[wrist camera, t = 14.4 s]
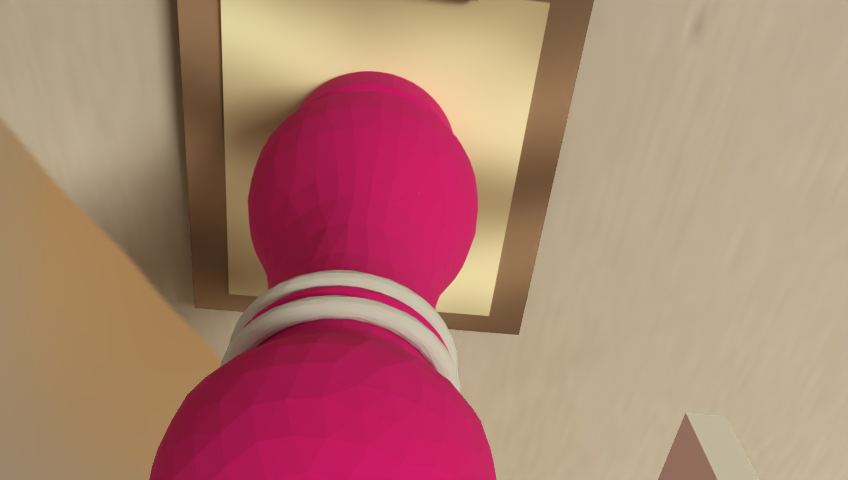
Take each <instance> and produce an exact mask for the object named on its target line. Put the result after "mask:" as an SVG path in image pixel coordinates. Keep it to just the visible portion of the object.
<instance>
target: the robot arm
mask: <svg viewBox="0 0 848 480" xmlns="http://www.w3.org/2000/svg"><path fill="white" fill-rule="evenodd" d="M658 480H760V479H759V478H758V476H757V474H756V472H755V470H754V468H753V466H752V465H751V463H750V461H749V459H748V457H747V455H746V453H745V452H744V450H743V448H742V446H741V444H740V442H739V440H738V439H737V437H736V435H735V433H734V431H733V429H732V427H731V426H730V424H729V422H728V420H727V418H726V416H724V415H710V414H697V413H685V416H684V418H683V421H682V423H681V425H680V428H679V430H678V433H677V435H676V438H675V440H674V443H673V445H672V447H671V450H670V452H669V455H668V457H667V460H666V462H665V464H664V467H663V469H662V472H661V474H660V477H659V479H658Z"/></svg>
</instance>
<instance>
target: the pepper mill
mask: <svg viewBox="0 0 848 480" xmlns="http://www.w3.org/2000/svg"><path fill="white" fill-rule="evenodd" d="M248 214H249V226H250V234H251V239H252V243H253V246H254V250H255V252H256V254H257V256H258V258H259V261H260V263H261V265H262V266H263V268H264V270H265V273H266V276H267V282H268V291H266V292H264V293H263V294H262V295H260V296H259V297H258V298H257V299H255V300H254V301H253V303H252V304H251V305H250V306H249V307H248V308H247V309H246V310H245V312H244V313H243V314H242V316H241V317H240V319H239V321H238V322H237V324H236V326H235V328H234V331H233V334H232V336H231V340H230V345H229V347H228V349H227V351H226V353H225V356H224V358H223V360H222V362H221V366H220V368H219V369H217V370H216V371H214V372H213V373H211V374H210V375H208V376H207V377H206V378H205V379H203V380H202V381H201V382H200V383H199V384H198V385H197V386H196V387H195V388H194V389H193V390H192V391H191V392H190V393H189V394H188V395H187V396H186V398H185V400H184V401H183V403H182V405H181V406H180V408H179V409H178V411H177V413H176V414H175V416H174V418H173V419H172V421H171V423H170V425H169V427H168V429H167V431H166V433H165V435H164V437H163V439H162V442H161V444H160V446H159V448H158V451H157V453H156V456H155V460H154V463H153V466H152V470H151V475H150V479H149V480H496V474H495V468H494V463H493V458H492V454H491V450H490V446H489V444H488V441H487V438H486V435H485V432H484V429H483V426H482V424H481V421H480V419H479V418H478V416H477V415H476V413H475V412H474V410H473V409H472V407H471V406H470V405H469V404H468V402H467V401H466V400H465V399H464V398H463V396H462V395H461V394H460V383H459V379H458V357H457V352H456V348H455V344H454V342H453V339H452V336H451V333H450V331H449V330H448V328H447V326H446V324H445V322H444V321H443V319H442V318H441V316H440V315H439V314H438V313H437V312H436V310H435V309H436V304H437V302H438V299H439V297H440V295H441V294H442V293H443V292H444V291H445V290H446V288H447V287H448V286H449V285H450V284H451V283H452V282H453V281H454V279H455V278H456V277H457V275H458V273H459V272H460V270H461V269H462V267H463V265H464V263H465V260H466V258H467V255H468V253H469V250H470V248H471V245H472V242H473V239H474V237H475V234H476V224H477V215H478V193H477V186H476V178H475V174H474V171H473V168H472V165H471V162H470V159H469V157H468V156H467V154H466V152H465V150H464V148H463V146H462V145H461V143H460V141H459V140H458V138H457V137H456V136H455V135H454V134H453V131H452V128H451V125H450V123H449V121H448V118H447V116H446V115H445V113H444V111H443V110H442V108H441V107H440V105H439V104H438V103H437V102H436V101H435V100H434V99H433V97H432V96H430V95H429V94H428V93H427V92H426V91H425V90H424V89H422V88H421V87H419V86H418V85H416V84H415V83H413V82H411V81H409V80H407V79H404V78H402V77H399V76H396V75H394V74H389V73H384V72H376V71H360V72H354V73H349V74H345V75H342V76H338V77H336V78H334V79H332V80H330V81H327V82H326V83H324V84H323V85H321V86H320V87H319V88H317V89H316V90H315V91H313V92H312V93H311V94H310V95H309V96H308V97H307V98H306V99H305V100H304V101H303V102H302V104H301V105H300V107H299V108H298V110H297V111H296V112H295V113H293V114H292V115H291V116H289V117H288V118H287V119H285V120H284V121H283V122H282V123H281V124H280V125H279V126H278V128H277V129H276V130H275V131H274V132H273V133H272V134H271V136H270V137H269V139H268V140H267V142H266V144H265V145H264V147H263V149H262V150H261V153H260V155H259V158H258V160H257V163H256V166H255V169H254V173H253V176H252V180H251V185H250V190H249V196H248Z"/></svg>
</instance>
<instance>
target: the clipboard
mask: <svg viewBox="0 0 848 480" xmlns="http://www.w3.org/2000/svg"><path fill="white" fill-rule="evenodd" d="M593 2H594V0H177V8H178V25H179V42H180V60H181V77H182V94H183V111H184V128H185V146H186V163H187V180H188V197H189V215H190V232H191V249H192V266H193V284H194V301H195V308H203V309H215V310H227V311H239V312H245V310H246V309H247V308H248V307H249V306H250V305H251V304H252V303H253V301H254V300H255V299H257V298H258V297H259V296H260V295H262V294H263V293H264V292H266V291H268V282H267V276H266V273H265V270H264V268H263V266H262V265H261V263H260V261H259V258H258V256H257V254H256V252H255V250H254V246H253V243H252V239H251V234H250V226H249V214H248V196H249V190H250V185H251V180H252V176H253V173H254V169H255V166H256V163H257V160H258V158H259V155H260V153H261V150H262V149H263V147H264V145H265V144H266V142H267V140H268V139H269V137H270V136H271V134H272V133H273V132H274V131H275V130H276V129H277V128H278V126H279V125H280V124H281V123H282V122H283V121H284V120H285V119H287V118H288V117H289V116H291V115H292V114H293V113H295V112H296V111H297V110H298V108H299V107H300V105H301V104H302V102H303V101H304V100H305V99H306V98H307V97H308V96H309V95H310V94H311V93H312V92H313V91H315V90H316V89H317V88H319V87H320V86H321V85H323V84H324V83H326V82H327V81H330V80H332V79H334V78H336V77H338V76H342V75H345V74H349V73H354V72H360V71H376V72H384V73H389V74H394V75H396V76H399V77H402V78H404V79H407V80H409V81H411V82H413V83H415V84H416V85H418V86H419V87H421V88H422V89H424V90H425V91H426V92H427V93H428V94H429V95H430V96H432V97H433V99H434V100H435V101H436V102H437V103H438V104H439V105H440V107H441V108H442V110H443V111H444V113H445V115H446V116H447V118H448V121H449V123H450V125H451V128H452V131H453V134H454V135H455V136H456V137H457V138H458V140H459V141H460V143H461V145H462V146H463V148H464V150H465V152H466V154H467V156H468V157H469V159H470V162H471V165H472V168H473V171H474V174H475V178H476V186H477V193H478V215H477V224H476V234H475V237H474V239H473V242H472V245H471V248H470V250H469V253H468V255H467V258H466V260H465V263H464V265H463V267H462V269H461V270H460V272H459V273H458V275H457V277H456V278H455V279H454V281H453V282H452V283H451V284H450V285H449V286H448V287H447V288H446V290H445V291H444V292H443V293H442V294H441V295H440V297H439V299H438V302H437V304H436V309H435V310H436V312H437V313H438V314H439V315H440V316H441V318H442V319H443V321H444V322H445V324H446V326H447V328H448V329H455V330H467V331H479V332H491V333H503V334H515V335H519V331H520V327H521V322H522V318H523V313H524V309H525V304H526V300H527V296H528V291H529V287H530V282H531V278H532V273H533V269H534V264H535V260H536V256H537V251H538V247H539V242H540V238H541V233H542V229H543V224H544V220H545V216H546V211H547V207H548V202H549V198H550V193H551V189H552V184H553V180H554V175H555V171H556V167H557V162H558V158H559V153H560V149H561V144H562V140H563V135H564V131H565V127H566V122H567V118H568V113H569V109H570V104H571V100H572V95H573V91H574V86H575V82H576V78H577V73H578V69H579V64H580V60H581V55H582V51H583V46H584V42H585V38H586V33H587V29H588V24H589V20H590V15H591V11H592V6H593Z"/></svg>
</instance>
